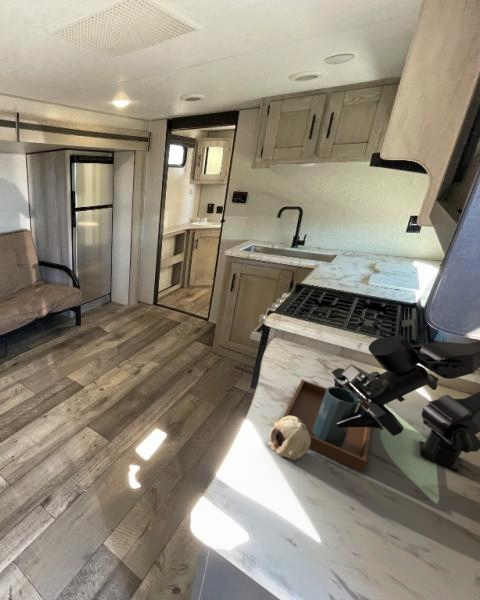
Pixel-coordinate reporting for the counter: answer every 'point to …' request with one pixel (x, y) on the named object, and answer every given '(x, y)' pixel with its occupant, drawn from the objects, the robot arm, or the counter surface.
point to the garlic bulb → (290, 437)
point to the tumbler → (335, 415)
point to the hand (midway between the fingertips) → (329, 415)
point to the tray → (348, 454)
